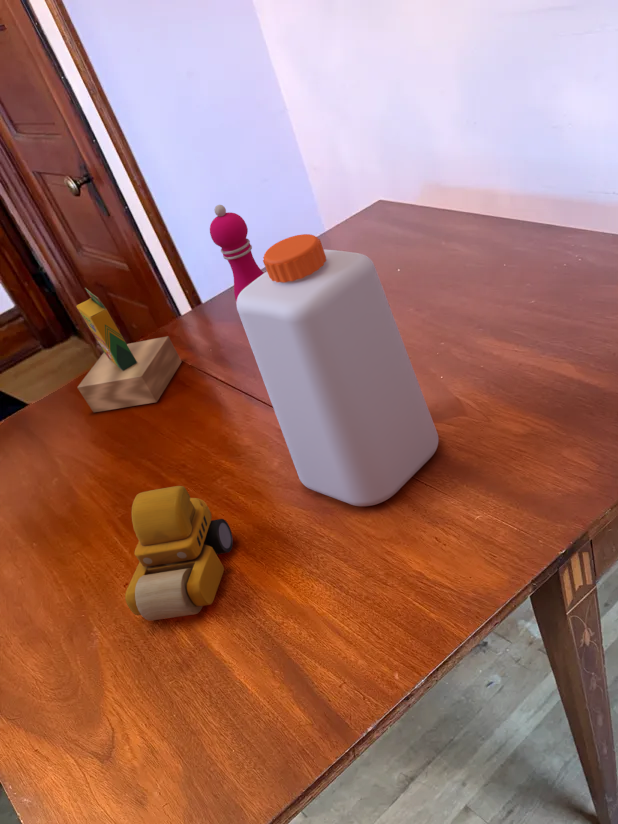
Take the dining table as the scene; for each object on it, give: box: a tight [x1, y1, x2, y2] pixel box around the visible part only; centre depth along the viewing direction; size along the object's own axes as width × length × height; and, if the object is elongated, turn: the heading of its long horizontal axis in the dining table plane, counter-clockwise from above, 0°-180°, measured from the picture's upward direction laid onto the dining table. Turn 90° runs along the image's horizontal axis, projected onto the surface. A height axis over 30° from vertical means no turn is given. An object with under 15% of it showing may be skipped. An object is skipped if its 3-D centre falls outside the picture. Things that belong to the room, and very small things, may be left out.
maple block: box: [77, 335, 183, 413], centre depth 123 cm, size 12×12×5 cm
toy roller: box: [124, 485, 234, 622], centre depth 82 cm, size 9×14×10 cm, turn 177°
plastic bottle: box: [235, 233, 439, 507], centre depth 83 cm, size 15×15×28 cm
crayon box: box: [75, 287, 137, 371], centre depth 118 cm, size 7×3×12 cm, turn 36°
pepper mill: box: [209, 204, 265, 303], centre depth 124 cm, size 7×7×20 cm
